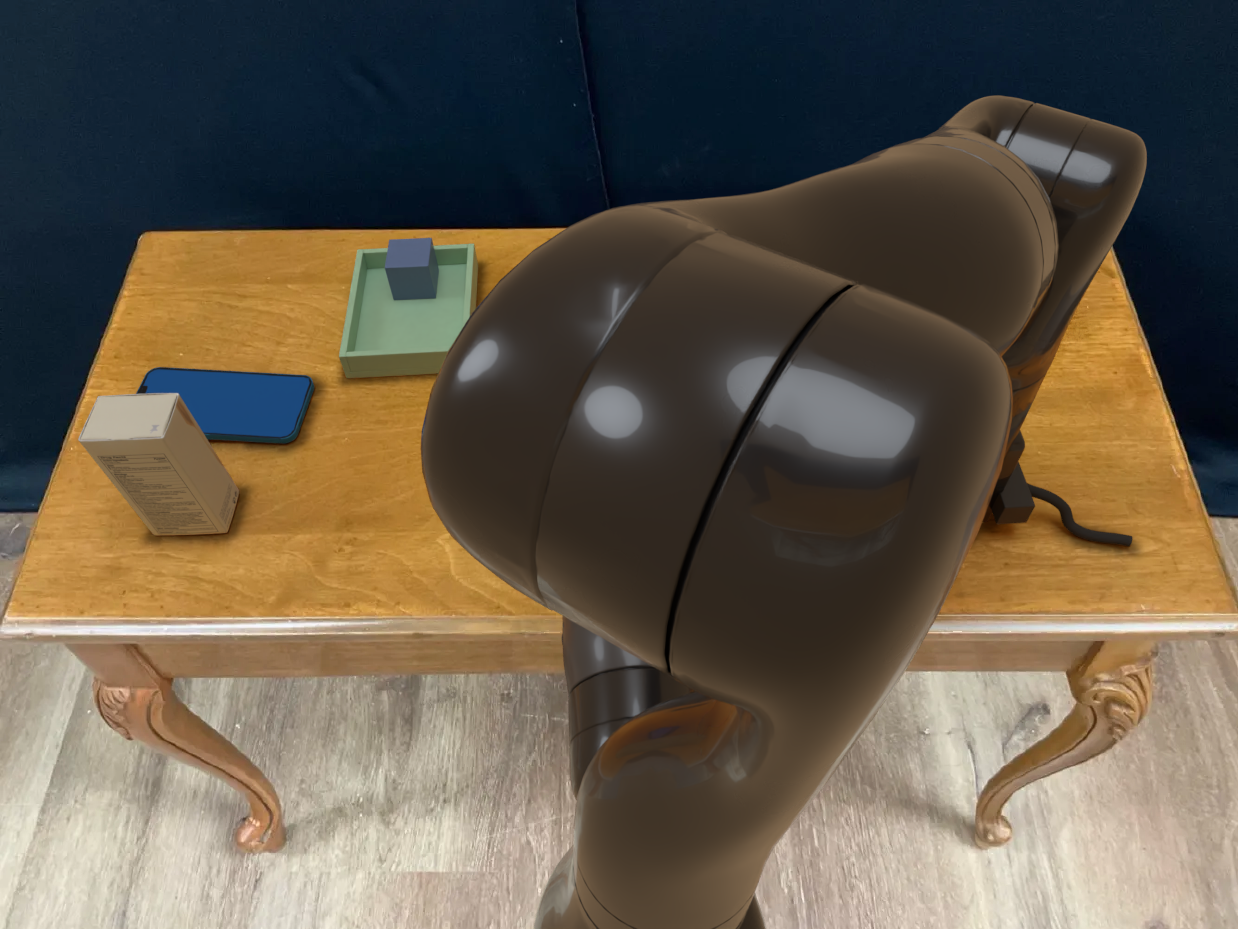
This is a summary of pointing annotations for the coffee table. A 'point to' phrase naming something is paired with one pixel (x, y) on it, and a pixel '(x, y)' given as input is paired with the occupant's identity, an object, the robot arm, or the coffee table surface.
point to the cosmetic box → (161, 463)
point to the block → (412, 268)
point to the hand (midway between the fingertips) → (614, 391)
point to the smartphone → (237, 401)
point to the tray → (406, 316)
